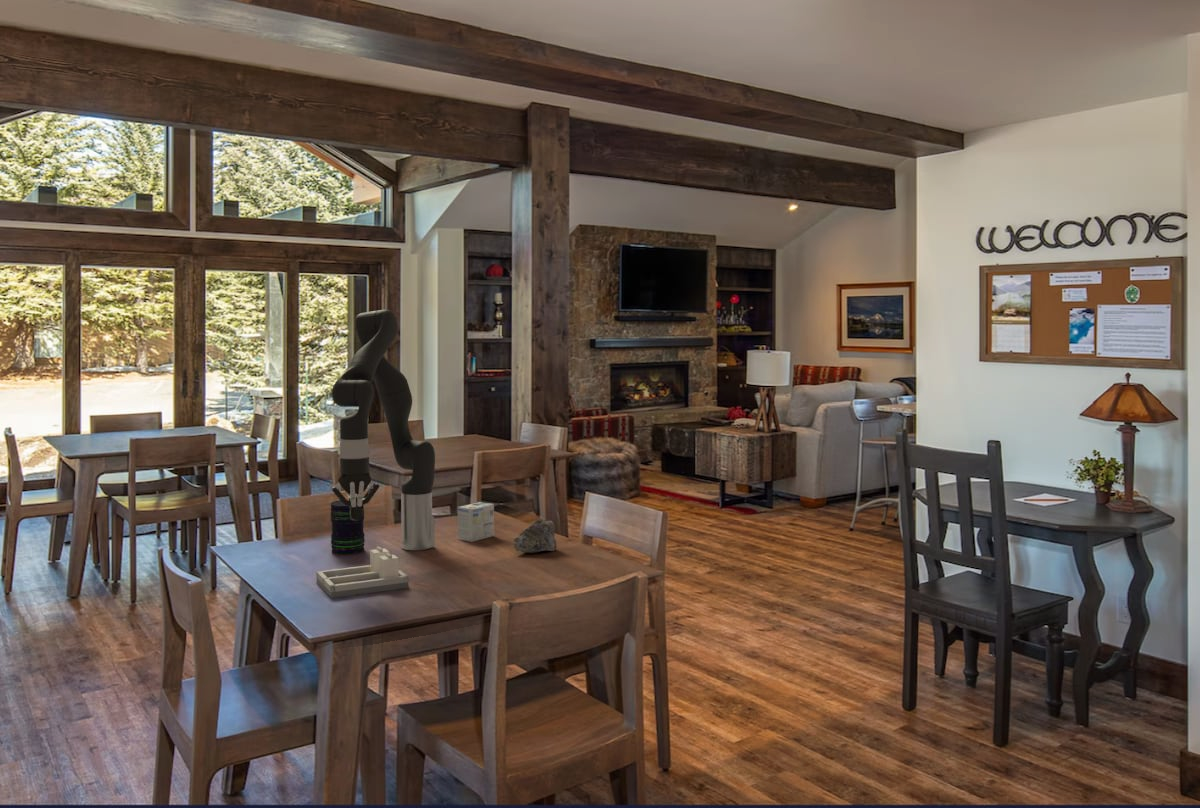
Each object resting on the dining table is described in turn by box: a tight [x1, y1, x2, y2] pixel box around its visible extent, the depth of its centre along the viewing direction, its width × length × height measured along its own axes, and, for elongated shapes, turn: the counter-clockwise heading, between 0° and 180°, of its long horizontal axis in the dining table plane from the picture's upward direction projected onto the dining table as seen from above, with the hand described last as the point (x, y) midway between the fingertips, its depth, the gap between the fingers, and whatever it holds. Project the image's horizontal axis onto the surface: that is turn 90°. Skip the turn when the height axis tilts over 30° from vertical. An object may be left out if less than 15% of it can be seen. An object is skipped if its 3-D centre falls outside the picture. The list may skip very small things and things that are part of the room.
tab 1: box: [369, 546, 390, 572], centre depth 250 cm, size 4×4×7 cm
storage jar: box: [330, 500, 366, 556], centre depth 280 cm, size 10×10×15 cm
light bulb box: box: [457, 501, 495, 543], centre depth 300 cm, size 11×7×11 cm, turn 144°
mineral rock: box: [513, 518, 557, 554], centre depth 282 cm, size 13×11×10 cm
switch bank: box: [316, 564, 409, 599], centre depth 244 cm, size 20×16×3 cm
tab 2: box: [379, 552, 400, 579], centre depth 243 cm, size 4×4×7 cm
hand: (355, 520), depth 246 cm, fingers closed
